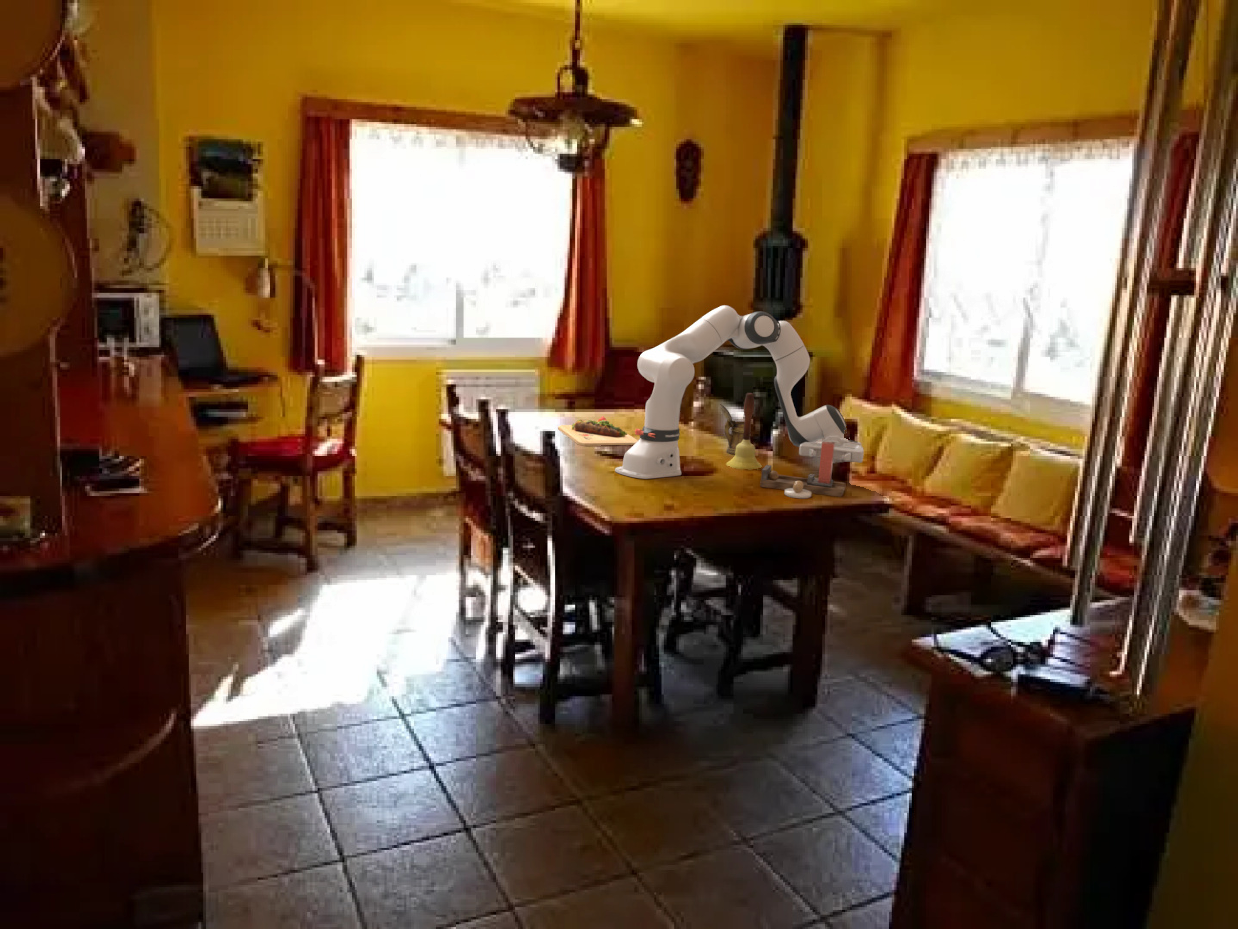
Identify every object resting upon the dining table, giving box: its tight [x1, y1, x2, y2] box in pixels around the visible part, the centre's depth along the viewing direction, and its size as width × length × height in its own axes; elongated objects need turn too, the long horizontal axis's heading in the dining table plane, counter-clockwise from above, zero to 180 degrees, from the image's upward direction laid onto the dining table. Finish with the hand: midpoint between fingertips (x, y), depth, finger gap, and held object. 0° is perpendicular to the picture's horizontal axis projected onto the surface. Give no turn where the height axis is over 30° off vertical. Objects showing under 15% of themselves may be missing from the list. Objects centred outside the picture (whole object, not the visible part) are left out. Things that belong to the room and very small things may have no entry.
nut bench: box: [759, 464, 846, 498], centre depth 301 cm, size 25×10×5 cm, turn 71°
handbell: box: [725, 392, 763, 471], centre depth 328 cm, size 12×12×25 cm
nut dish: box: [784, 481, 812, 499], centre depth 292 cm, size 8×8×4 cm
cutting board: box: [557, 416, 639, 447], centre depth 368 cm, size 35×23×8 cm
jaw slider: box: [806, 442, 835, 488], centre depth 299 cm, size 8×7×14 cm
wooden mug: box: [719, 404, 752, 455], centre depth 349 cm, size 9×14×18 cm, turn 108°
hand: (828, 456), depth 304 cm, fingers open, 8 cm apart
